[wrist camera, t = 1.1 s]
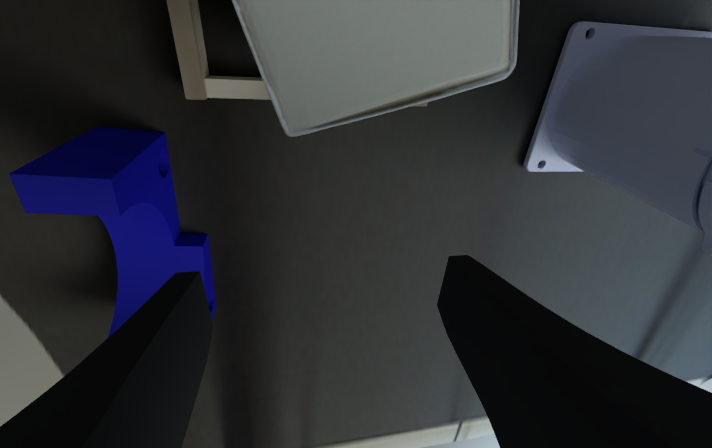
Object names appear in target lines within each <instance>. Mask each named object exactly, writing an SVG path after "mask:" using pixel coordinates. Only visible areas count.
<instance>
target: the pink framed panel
mask: <svg viewBox="0 0 712 448" xmlns="http://www.w3.org/2000/svg"><path fill="white" fill-rule="evenodd" d="M167 5H168V10H169V16H170V21H171V26H172V31H173V36H174V41H175V46H176V51H177V56H178V61H179V67H180V72H181V77H182V82H183V87H184V92H185V97H186V99H196V100H206V99H207V98H237V99H269V100H271V99H270V97H269V94H268V92H267V89H266V87H265V84H264V82H263V79H262V78H256V77H232V76H209V70H208V63H207V57H206V51H205V44H204V38H203V31H202V25H201V19H200V12H199V6H198V0H167ZM427 104H428V102H425V103H421V104H417V105H413V106H427Z"/></svg>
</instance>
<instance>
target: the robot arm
mask: <svg viewBox="0 0 712 448" xmlns="http://www.w3.org/2000/svg"><path fill="white" fill-rule="evenodd" d="M588 29H589V35H588V36H587V37H585V35H586V32H587V30H588ZM540 161H542V162H541V164H540V165H539V166H538V163H539V162H540ZM523 166H524V168H525V169H526V170H528V171H530V172H582V171H585V172H587V173H589V174H591V175H593V176H595V177H597V178H599V179H601V180H603V181H604V182H606V183H608V184H610V185H612V186H614V187H616V188H618V189H620V190H622V191H624V192H626V193H628V194H630V195H632V196H634V197H636V198H638V199H640V200H642V201H644V202H645V203H647V204H649V205H651V206H653V207H655V208H657V209H659V210H661V211H663V212H665V213H667V214H669V215H671V216H673V217H675V218H677V219H679V220H681V221H683V222H685V223H686V224H688V225H690V226H692V227H694V228H696V229H698V230H700V231H702V232H704V233H705V237H704V242H703V244H702V246H701V250H702V251H704V252H706V253H708V254H709V255H711V256H712V32H706V31H694V30H682V29H670V28H658V27H646V26H634V25H622V24H610V23H598V22H586V21H580V22H576V23H575V24H573V25H572V27H571V28H570V30H569V32H568V34H567V37H566V40H565V43H564V46H563V49H562V52H561V55H560V58H559V61H558V64H557V67H556V70H555V72H554V75H553V78H552V81H551V84H550V87H549V90H548V93H547V96H546V99H545V102H544V105H543V108H542V111H541V114H540V117H539V119H538V122H537V125H536V128H535V131H534V134H533V137H532V140H531V143H530V146H529V149H528V152H527V155H526V158H525V161H524V165H523ZM437 306H438V309H439V312H440V315H441V318H442V321H443V324H444V327H445V329H446V332H447V335H448V337H449V339H450V341H451V343H452V345H453V347H454V349H455V351H456V353H457V355H458V357H459V359H460V361H461V363H462V365H463V367H464V369H465V371H466V373H467V375H468V377H469V379H470V381H471V383H472V385H473V387H474V389H475V391H476V393H477V395H478V397H479V399H480V401H481V403H482V405H483V407H484V409H485V412H486V414H487V416H488V418H489V420H490V423H491V425H492V428H493V430H494V433H495V435H496V438H497V440H498V443H499V445H500V448H712V393H711V392H708V391H706V390H704V389H701V388H699V387H697V386H694V385H692V384H690V383H688V382H685V381H683V380H681V379H678V378H676V377H674V376H672V375H670V374H668V373H666V372H663V371H661V370H659V369H657V368H655V367H653V366H651V365H649V364H647V363H644V362H642V361H640V360H638V359H636V358H634V357H632V356H630V355H628V354H626V353H624V352H622V351H620V350H618V349H616V348H615V347H613V346H611V345H609V344H607V343H605V342H603V341H602V340H600V339H598V338H596V337H594V336H592V335H591V334H589V333H587V332H585V331H583V330H582V329H580V328H578V327H577V326H575V325H573V324H571V323H570V322H568V321H567V320H565V319H563V318H562V317H560V316H559V315H557V314H555V313H554V312H552V311H550V310H549V309H547V308H546V307H544V306H543V305H541V304H540V303H538V302H536V301H535V300H533V299H532V298H530V297H529V296H527V295H526V294H524V293H523V292H521V291H520V290H519V289H517V288H516V287H514V286H513V285H511V284H510V283H508V282H507V281H505V280H504V279H503V278H501V277H500V276H498V275H497V274H495V273H494V272H493V271H491V270H490V269H488V268H487V267H485V266H484V265H482V264H481V263H479V262H478V261H476V260H475V259H473V258H471V257H470V256H468V255H462V256H449V259H448V263H447V267H446V271H445V275H444V279H443V283H442V287H441V291H440V295H439V299H438V303H437ZM212 328H213V322H212V318H211V314H210V310H209V305H208V301H207V297H206V293H205V289H204V285H203V281H202V277H201V273H200V271H193V272H177V273H175V274H174V275H173V276H172V277H171V278H170V279H169V280H168V281H167V282H166V283H165V284H164V285H163V286H162V287H161V288H159V289H158V290H157V291H156V292H155V293H154V294H153V295H152V296H151V297H150V298H149V299H148V300H147V301H146V302H145V303H144V304H143V305H142V306H141V307H140V308H139V309H138V310H137V311H136V312H135V313H134V314H133V315H132V316H131V317H130V318H129V319H128V320H127V321H126V322H125V323H124V324H123V325H122V326H121V327H119V328H118V329H117V330H116V331H115V332H114V333H113V334H112V335H111V336H110V337H109V338H108V339H107V340H105V341H104V342H103V343H102V344H101V345H100V346H99V347H98V348H96V349H95V350H94V351H93V352H92V353H91V354H90V355H89V356H87V357H86V358H85V359H84V360H83V361H82V362H81V363H80V364H78V365H77V366H76V367H75V368H74V369H73V370H72V371H70V372H69V373H68V374H67V375H66V376H64V377H63V378H62V379H61V380H60V381H58V382H57V383H56V384H55V385H53V386H52V387H51V388H50V389H49V390H47V391H46V392H45V393H44V394H42V395H41V396H40V397H39V398H37V399H36V400H35V401H33V402H32V403H31V404H29V405H28V406H27V407H26V408H24V409H23V410H22V411H20V412H19V413H18V414H17V415H15V416H14V417H13V418H11V419H10V420H9V421H7V422H6V423H5V424H3V425H2V426H1V427H0V448H181V447H182V443H183V440H184V437H185V433H186V430H187V427H188V423H189V420H190V417H191V413H192V410H193V407H194V403H195V400H196V396H197V393H198V390H199V386H200V383H201V379H202V376H203V373H204V369H205V366H206V362H207V358H208V352H209V347H210V341H211V334H212Z"/></svg>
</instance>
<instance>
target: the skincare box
mask: <svg viewBox="0 0 712 448" xmlns="http://www.w3.org/2000/svg"><path fill="white" fill-rule="evenodd" d="M232 3H233V5H234V8H235V10H236V13H237V15H238V18H239V21H240V23H241V26H242V29H243V31H244V34H245V36H246V39H247V41H248V44H249V46H250V49H251V51H252V54H253V56H254V59H255V61H256V64H257V66H258V69H259V71H260V74H261V76H262V79H263V82H264V84H265V87H266V89H267V92H268V94H269V97H270V99H271V101H272V103H273V106H274V108H275V111H276V113H277V116H278V118H279V121H280V123H281V126H282V128H283V130H284V132H285V133H286V134H287V135H288V136H294V137H296V136H300V135H304V134H308V133H312V132H315V131H319V130H323V129H326V128H330V127H334V126H338V125H343V124H347V123H350V122H354V121H358V120H362V119H365V118H369V117H373V116H378V115H381V114H384V113H388V112H392V111H396V110H399V109H403V108H406V107H410V106H413V105H417V104H421V103H425V102H429V101H433V100H437V99H440V98H444V97H447V96H450V95H454V94H457V93H460V92H464V91H467V90H470V89H474V88H477V87H481V86H484V85H488V84H491V83H494V82H498V81H501V80H503V79H505V78H507V77H508V76H509V75H510V74H511V73H512V71H513V69H514V68H515V66H516V61H517V44H518V21H519V5H520V0H232Z"/></svg>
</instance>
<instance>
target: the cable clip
mask: <svg viewBox="0 0 712 448" xmlns="http://www.w3.org/2000/svg"><path fill="white" fill-rule="evenodd" d="M9 175H10V178H11V180H12V183H13V185H14V187H15V190H16V192H17V194H18V197H19V199H20V202H21V204H22V206H23V209H24V211H25V213H38V214H68V215H98V216H99V218H100V219H101V220H102V222H103V223H104V225H105V226H106V228H107V230H108V232H109V235H110V237H111V240H112V243H113V247H114V250H115V255H116V262H117V272H118V287H117V300H116V307H115V312H114V318H113V322H112V326H111V329H110V333H109V336H108V338H109V337H110V336H111V335H112V334H113V333H114V332H115V331H116V330H117V329H118V328H119V327H121V326H122V325H123V324H124V323H125V322H126V321H127V320H128V319H129V318H130V317H131V316H132V315H133V314H134V313H135V312H136V311H137V310H138V309H139V308H140V307H141V306H142V305H143V304H144V303H145V302H146V301H147V300H148V299H149V298H150V297H151V296H152V295H153V294H154V293H155V292H156V291H157V290H158V289H159V288H161V287H162V286H163V285H164V284H165V283H166V282H167V281H168V280H169V279H170V278H171V277H172V276H173V275H174V274H175V273H177V272H193V271H200V273H201V277H202V281H203V285H204V289H205V293H206V297H207V301H208V305H209V310H210V314H211V318H213V315H214V311H215V307H216V305H215V296H214V287H213V277H212V268H211V259H210V250H209V240H208V234H188V233H181V232H180V226H179V219H178V213H177V207H176V200H175V194H174V188H173V181H172V175H171V168H170V162H169V156H168V149H167V143H166V137H165V133H163V132H151V131H139V130H126V129H114V128H102V127H96V128H94V129H92V130H90V131H88V132H86V133H84V134H83V135H81V136H79V137H77V138H75V139H73V140H71V141H69V142H68V143H66V144H64V145H62V146H60V147H58V148H56V149H54V150H53V151H51V152H49V153H47V154H45V155H43V156H41V157H39V158H38V159H36V160H34V161H32V162H30V163H28V164H26V165H24V166H23V167H21V168H19V169H17V170H15V171H13V172H11V173H9Z"/></svg>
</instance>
